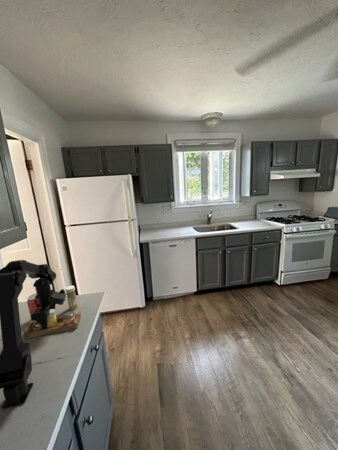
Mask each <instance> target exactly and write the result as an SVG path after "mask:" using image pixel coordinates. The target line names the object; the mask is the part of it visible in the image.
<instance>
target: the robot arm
mask: <svg viewBox="0 0 338 450" xmlns="http://www.w3.org/2000/svg"><path fill="white" fill-rule="evenodd" d="M27 277H28V278H30V279H32V280H34V279H35V280H34V283H33V284H32V285H33V287H34V289H35V292H36V293H35V294H37V295H36V296H35V299H37V298H38V304H37V307H42V308H41V309H36V310H35V311H34V312H33V313H32V315H31V316H30V315H29V318H30V321H37V322H38V323H40V324H41V325H42V326H43V327H44V328H47V327H48V321H47V318H48V316H49V315H50V313H49V312H50V311H49V310H50V309H54V310H55V311H56V305H60V306H61V305H64V302H65V301H66V299H67V294H66V290H65V289H63V288H62V289H60V290H59V291H54V289H52V288H51V285H52V284H53V283H54V281H55V279H57V273H56V272H55V271H54V270H53V269H52V268H51V266H49V264H47V263H42V264H36V263H32V262H30V261H27V260H24V259H19V260H12V261H8V262H7V264H6V265H5V266H4V267H2V268H1V269H0V331H1V343H2V350H1V352H0V390H1V389H2V393H3V395H4V396H3V397H4V401H3V402H2V405H1V407H0V408H1V409H7V408H10V407H11V408H12V407H15V406H19V405H22V404H24V403H25V402H26V401H27V399H28V397H29V395H30V393H31V390H32V388H33V386H34V383H33V382H30V383H28V379H29V377H30V375H31V373H32V369H33V367H32V366H33V364H32V353H31V348H30V347H31V346H30V343H29V342H24V341H23V338H22V331H21V330H22V329H21V326H22V325H21V318H20V310H19V296H20V295H21V292H22V291H23V289H24V282H25V281H26V279H27Z"/></svg>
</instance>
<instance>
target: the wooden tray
mask: <svg viewBox="0 0 338 450" xmlns="http://www.w3.org/2000/svg"><path fill="white" fill-rule="evenodd" d="M62 316H63V315H62ZM62 316H56V319H57V324H58V326H57V327H54V328H49V329H46V328H45V329H43V330H40V329H39V328H34V325H38V324H40V323H38V322H37V321H31V320H30V321H29V323H28V324H27V325H26V327H25V328H24V330H23V331H22V333H23V337H24V339H30V338H34V337H35V338H36V337H39V336H44V335H50V334H56V333H60V332H67V331H71V330H75V329H76V330H77V329H78V327H79V325H80V322H81V319H82V312H81V311H80V310H79V311H78V312H76V313H75V321H74V324H70V325H65V326H64V322H63V318H62Z"/></svg>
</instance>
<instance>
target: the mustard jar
mask: <svg viewBox="0 0 338 450" xmlns="http://www.w3.org/2000/svg"><path fill="white" fill-rule="evenodd" d="M49 311H50V312H49V313H50V315H49V316H48V318H47V321H48V327H47V328H46V329H49V328H54V327H57V326H58V324H57V319H56V317H57V314H56V309H55V310H54V309H50V310H49Z"/></svg>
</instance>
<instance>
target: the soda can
mask: <svg viewBox="0 0 338 450" xmlns="http://www.w3.org/2000/svg"><path fill="white" fill-rule="evenodd" d="M36 295H37V294H36V293H33V294H31V295H29V296H28V297H27V299H26V304H27V308H28V312H29V317H30V316H31V315H32V313H33V312H34V311H35V310H36V309H41V308H42V307H37V304H38V298H37V299H35V296H36Z"/></svg>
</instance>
